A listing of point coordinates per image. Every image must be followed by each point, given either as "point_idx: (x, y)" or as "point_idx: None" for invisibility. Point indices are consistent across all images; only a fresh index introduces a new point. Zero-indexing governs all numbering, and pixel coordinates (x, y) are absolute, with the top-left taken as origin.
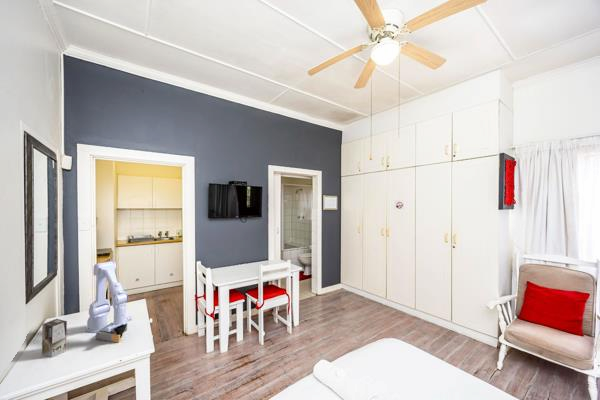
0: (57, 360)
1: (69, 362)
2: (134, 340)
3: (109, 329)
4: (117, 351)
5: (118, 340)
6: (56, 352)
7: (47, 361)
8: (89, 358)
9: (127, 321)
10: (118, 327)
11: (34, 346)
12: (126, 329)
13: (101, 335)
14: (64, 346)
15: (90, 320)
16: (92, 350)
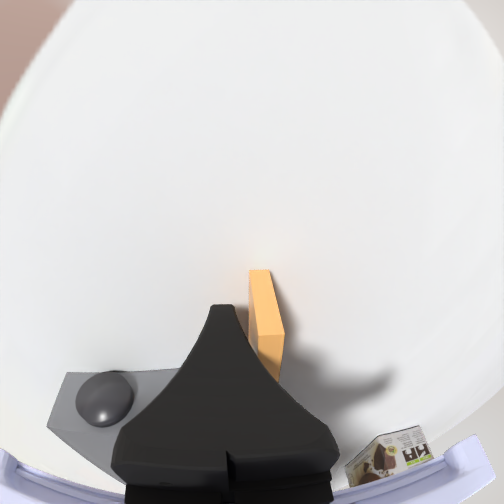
0: (449, 393)
1: (484, 339)
2: (156, 107)
3: (483, 465)
4: (425, 122)
5: (270, 289)
6: (412, 438)
7: (443, 410)
8: (484, 280)
9: (57, 479)
10: (299, 481)
11: (333, 488)
12: (69, 379)
13: None
14: (391, 455)
15: None
16: (395, 356)
